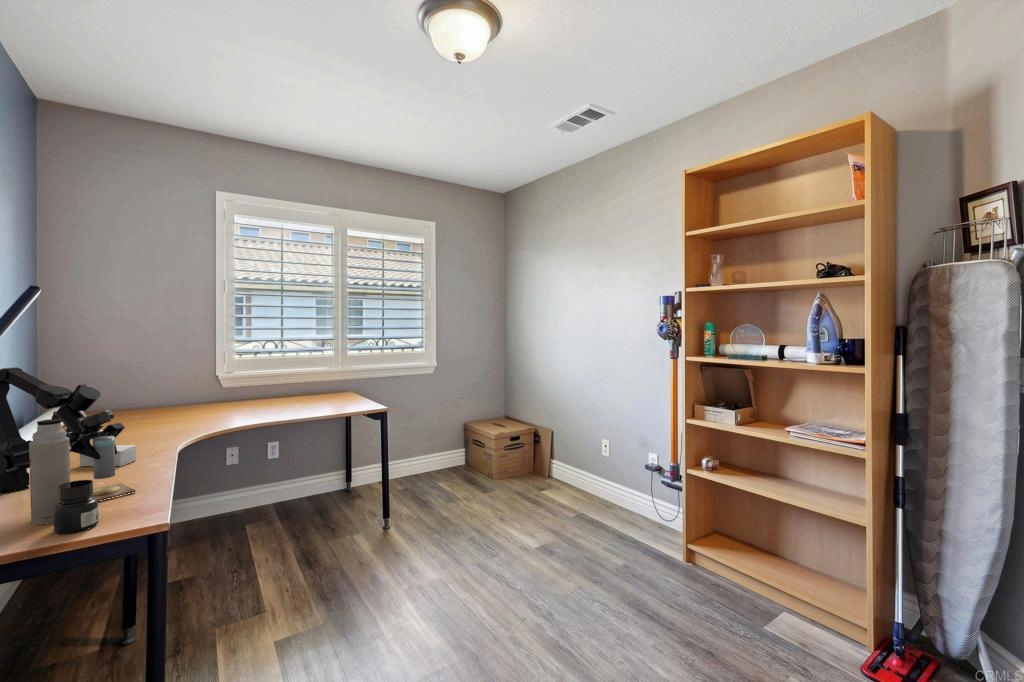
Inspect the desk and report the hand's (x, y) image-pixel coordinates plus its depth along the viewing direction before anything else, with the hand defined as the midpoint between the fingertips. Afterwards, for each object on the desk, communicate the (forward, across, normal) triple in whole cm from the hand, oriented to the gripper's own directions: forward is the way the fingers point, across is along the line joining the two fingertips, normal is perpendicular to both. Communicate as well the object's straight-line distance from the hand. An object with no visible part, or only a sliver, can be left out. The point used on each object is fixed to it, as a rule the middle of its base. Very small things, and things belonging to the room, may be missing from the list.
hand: (107, 456), depth 149 cm
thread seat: (+8, 0, +10) cm, 13 cm away
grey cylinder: (+4, 0, +6) cm, 7 cm away
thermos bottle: (+10, -18, +8) cm, 22 cm away
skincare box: (-21, +28, +34) cm, 49 cm away
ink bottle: (+19, -22, -1) cm, 30 cm away
